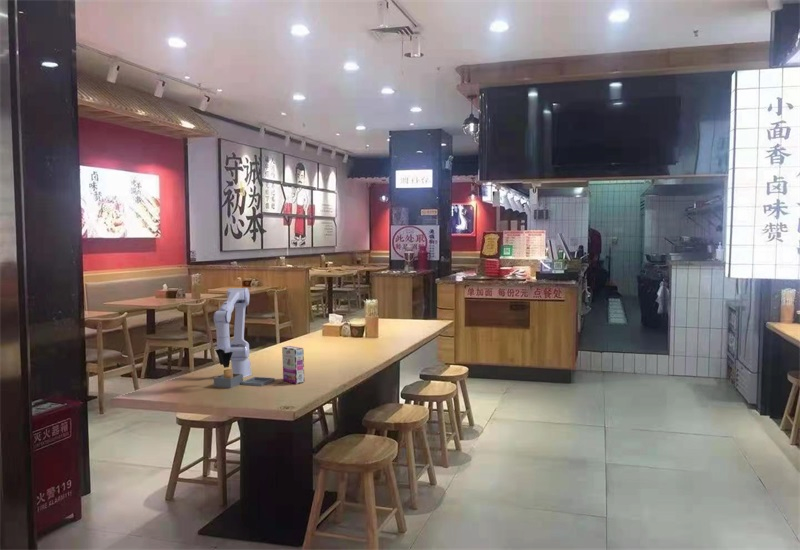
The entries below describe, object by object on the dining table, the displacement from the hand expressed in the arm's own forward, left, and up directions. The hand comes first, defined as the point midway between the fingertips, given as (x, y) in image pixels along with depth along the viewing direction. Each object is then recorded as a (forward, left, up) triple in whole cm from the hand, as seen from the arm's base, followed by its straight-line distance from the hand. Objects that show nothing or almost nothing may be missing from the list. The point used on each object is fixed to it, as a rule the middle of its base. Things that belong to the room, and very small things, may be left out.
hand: (224, 365), depth 281 cm
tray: (-9, +12, -10) cm, 18 cm away
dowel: (-1, +1, -9) cm, 9 cm away
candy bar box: (-17, +26, -10) cm, 33 cm away
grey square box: (-1, +1, -10) cm, 10 cm away
